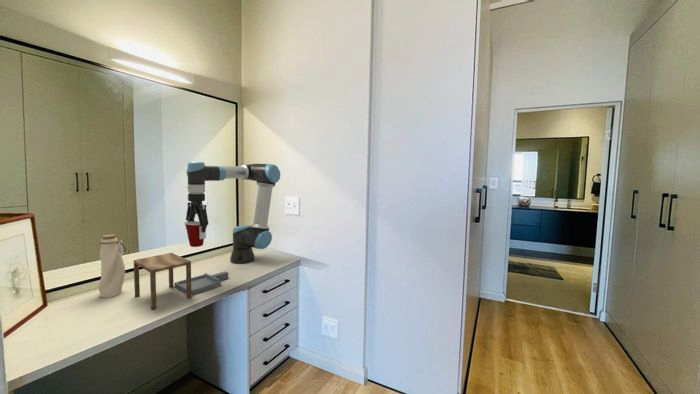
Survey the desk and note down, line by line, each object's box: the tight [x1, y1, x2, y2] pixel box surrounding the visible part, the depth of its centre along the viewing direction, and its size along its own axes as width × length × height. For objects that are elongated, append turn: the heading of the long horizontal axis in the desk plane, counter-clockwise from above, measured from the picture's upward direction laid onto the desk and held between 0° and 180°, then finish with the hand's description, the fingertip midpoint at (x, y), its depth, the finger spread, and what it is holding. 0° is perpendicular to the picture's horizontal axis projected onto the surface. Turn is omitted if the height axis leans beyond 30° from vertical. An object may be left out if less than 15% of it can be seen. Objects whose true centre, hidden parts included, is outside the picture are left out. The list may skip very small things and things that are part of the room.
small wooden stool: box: [133, 252, 192, 311], centre depth 133 cm, size 16×20×17 cm
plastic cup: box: [184, 220, 210, 248], centre depth 145 cm, size 11×11×12 cm
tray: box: [174, 271, 229, 296], centre depth 150 cm, size 24×16×3 cm, turn 144°
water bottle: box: [98, 233, 127, 298], centre depth 134 cm, size 10×9×28 cm
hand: (197, 236), depth 145 cm, fingers closed on plastic cup, 10 cm apart
